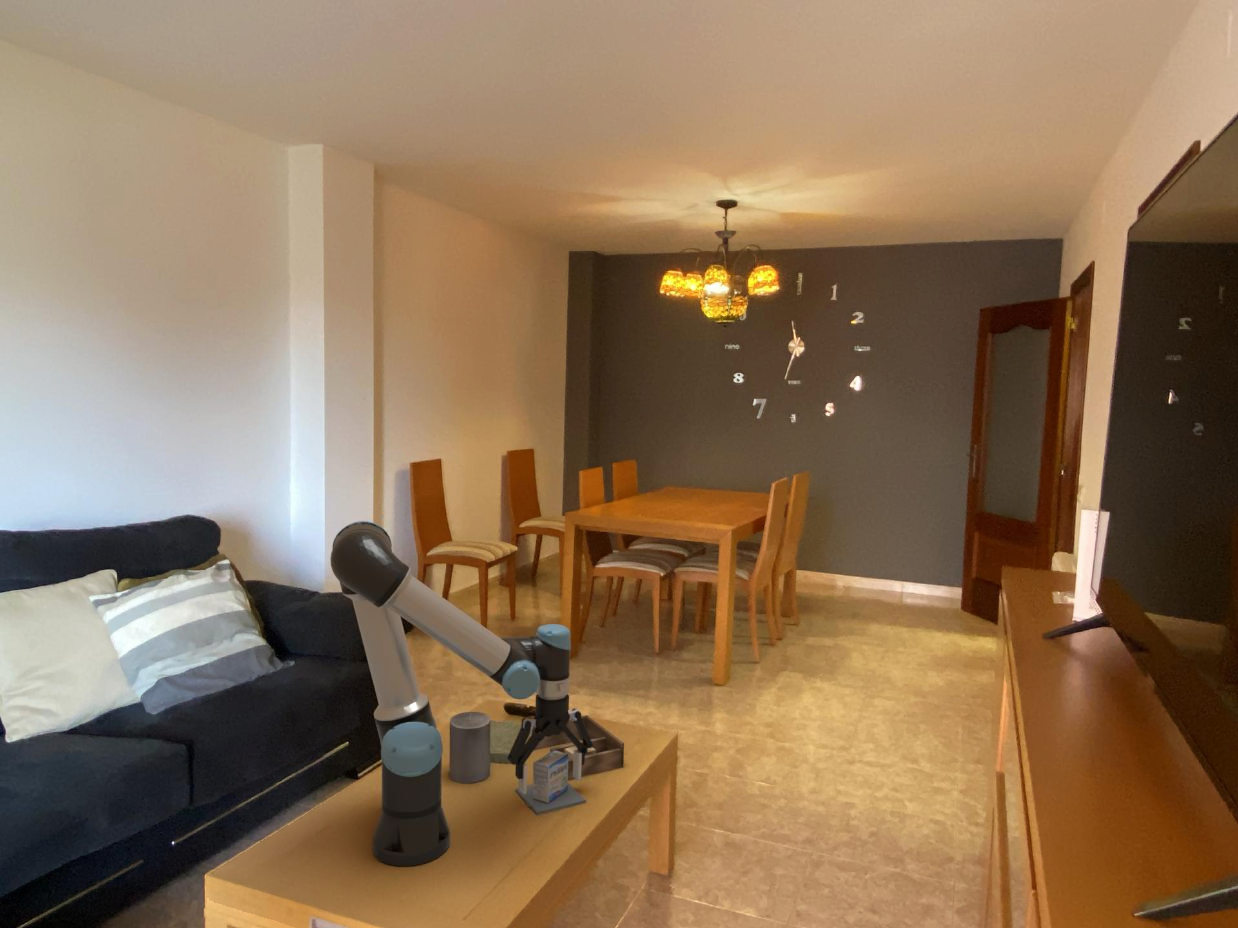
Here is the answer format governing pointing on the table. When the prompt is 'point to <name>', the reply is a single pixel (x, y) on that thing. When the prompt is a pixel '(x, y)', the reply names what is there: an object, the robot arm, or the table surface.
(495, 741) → the green stone slab
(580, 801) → the mat
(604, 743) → the rack
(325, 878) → the table surface
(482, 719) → the pillar candle
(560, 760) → the medicine box
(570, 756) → the offcut short
